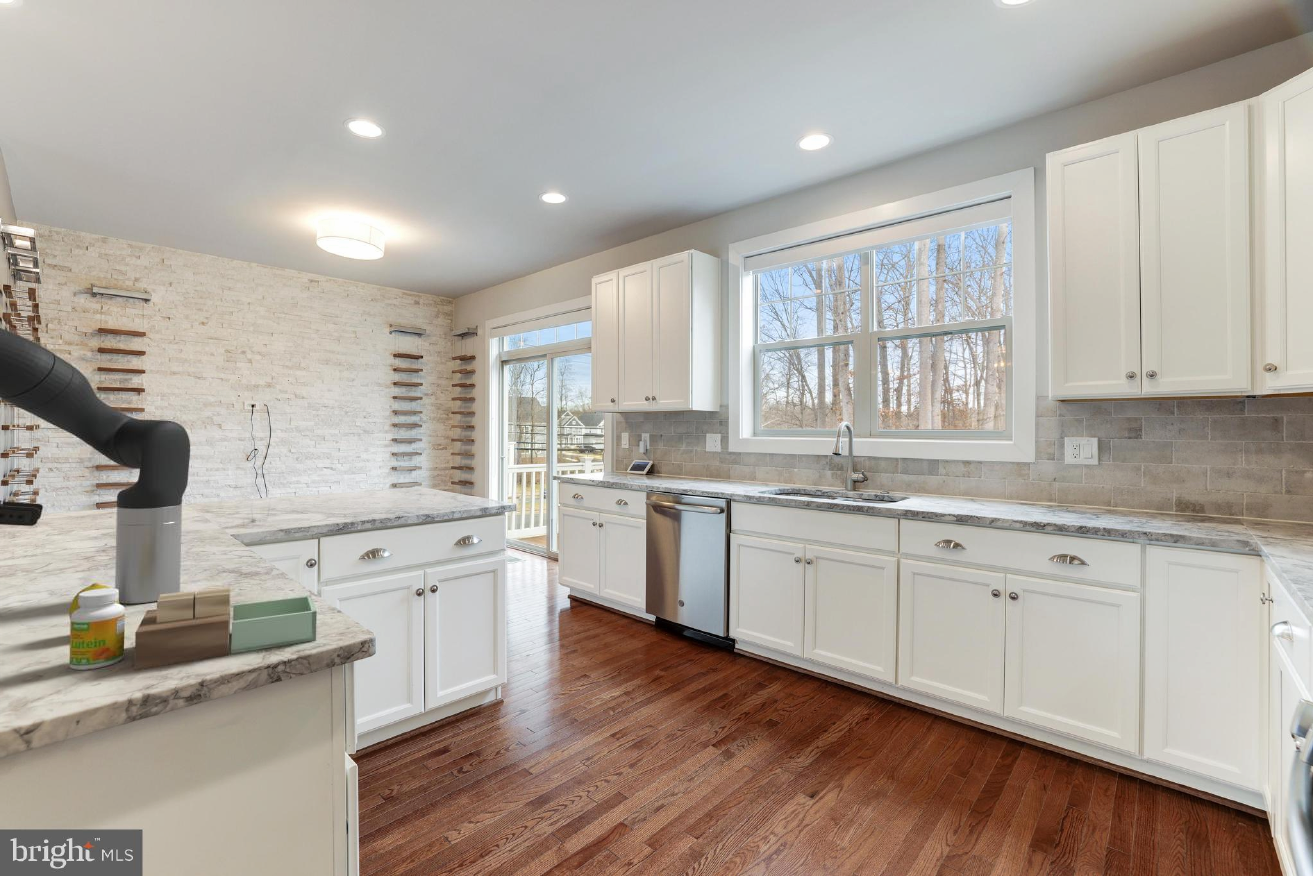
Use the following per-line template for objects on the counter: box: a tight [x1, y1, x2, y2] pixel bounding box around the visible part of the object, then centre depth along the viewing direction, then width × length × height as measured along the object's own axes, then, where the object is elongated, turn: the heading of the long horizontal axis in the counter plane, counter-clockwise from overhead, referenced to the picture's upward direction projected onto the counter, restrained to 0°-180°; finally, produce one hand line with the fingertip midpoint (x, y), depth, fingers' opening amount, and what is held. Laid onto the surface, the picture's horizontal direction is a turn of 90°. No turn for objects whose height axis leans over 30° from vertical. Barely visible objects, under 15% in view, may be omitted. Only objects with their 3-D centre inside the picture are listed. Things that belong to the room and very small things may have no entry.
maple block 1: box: [156, 590, 197, 623], centre depth 84 cm, size 4×4×3 cm
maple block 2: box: [195, 587, 231, 618], centre depth 87 cm, size 4×4×3 cm
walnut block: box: [134, 608, 231, 670], centre depth 85 cm, size 11×10×5 cm
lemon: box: [68, 582, 120, 621], centre depth 90 cm, size 6×6×8 cm
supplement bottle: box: [69, 587, 126, 671], centre depth 80 cm, size 5×5×10 cm
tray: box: [230, 595, 317, 654], centre depth 91 cm, size 10×11×4 cm
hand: (40, 514), depth 75 cm, fingers open, 8 cm apart
